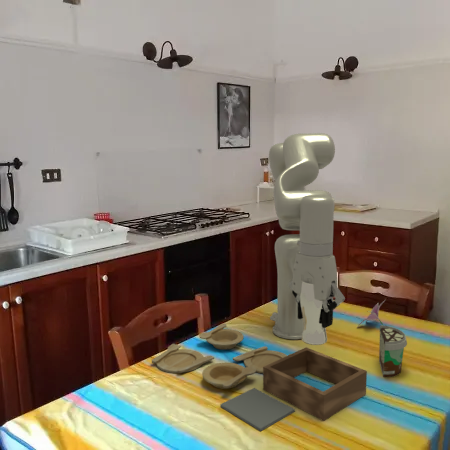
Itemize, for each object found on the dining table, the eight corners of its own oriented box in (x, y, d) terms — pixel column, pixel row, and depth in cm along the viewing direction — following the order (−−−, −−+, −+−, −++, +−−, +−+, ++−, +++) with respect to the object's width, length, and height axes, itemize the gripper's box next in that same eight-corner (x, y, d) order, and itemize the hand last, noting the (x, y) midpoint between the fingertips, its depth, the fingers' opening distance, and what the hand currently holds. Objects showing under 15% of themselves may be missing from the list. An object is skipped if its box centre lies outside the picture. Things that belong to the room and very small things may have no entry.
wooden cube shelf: (263, 389, 118) (263, 366, 117) (305, 368, 128) (306, 347, 127) (323, 421, 104) (324, 395, 103) (366, 394, 115) (366, 370, 114)
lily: (383, 322, 162) (369, 297, 163) (406, 320, 152) (391, 293, 152) (358, 340, 158) (344, 314, 158) (380, 339, 147) (365, 311, 148)
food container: (409, 381, 120) (411, 344, 119) (383, 379, 122) (385, 342, 120) (401, 360, 132) (403, 325, 131) (378, 358, 134) (379, 324, 132)
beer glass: (296, 334, 118) (297, 276, 115) (324, 333, 118) (325, 274, 115) (303, 346, 111) (304, 285, 108) (332, 345, 112) (334, 283, 109)
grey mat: (220, 406, 111) (220, 404, 110) (254, 390, 118) (254, 387, 118) (260, 431, 101) (260, 428, 101) (294, 411, 108) (294, 409, 108)
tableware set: (142, 363, 134) (142, 349, 134) (215, 332, 155) (215, 320, 155) (236, 408, 111) (235, 392, 110) (306, 364, 132) (306, 350, 131)
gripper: (277, 245, 114) (276, 316, 118) (337, 258, 102) (335, 337, 105) (297, 240, 119) (296, 308, 123) (357, 252, 106) (355, 328, 110)
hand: (314, 321), depth 114 cm, fingers closed on beer glass, 6 cm apart
